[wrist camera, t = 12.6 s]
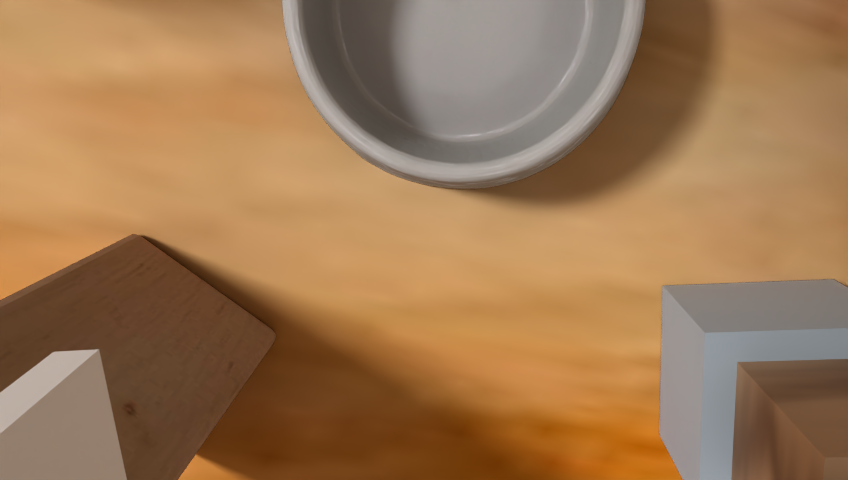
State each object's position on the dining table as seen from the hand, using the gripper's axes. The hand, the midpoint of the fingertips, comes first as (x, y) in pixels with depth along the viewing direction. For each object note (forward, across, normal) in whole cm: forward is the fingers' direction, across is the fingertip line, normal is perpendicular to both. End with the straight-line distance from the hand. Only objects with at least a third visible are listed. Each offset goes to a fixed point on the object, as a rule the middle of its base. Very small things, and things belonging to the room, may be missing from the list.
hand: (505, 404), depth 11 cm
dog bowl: (+28, 0, +7) cm, 29 cm away
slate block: (+26, +15, -12) cm, 33 cm away
